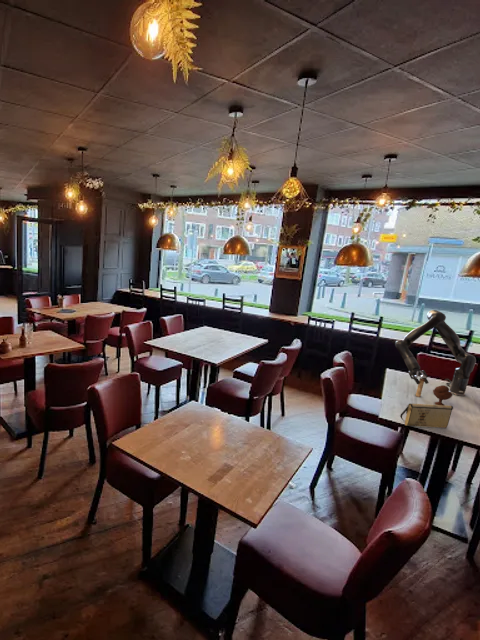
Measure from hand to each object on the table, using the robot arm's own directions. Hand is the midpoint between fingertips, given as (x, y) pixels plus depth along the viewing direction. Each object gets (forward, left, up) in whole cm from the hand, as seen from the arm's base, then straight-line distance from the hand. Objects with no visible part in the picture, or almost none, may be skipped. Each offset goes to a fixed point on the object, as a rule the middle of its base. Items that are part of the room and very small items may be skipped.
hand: (423, 383), depth 255 cm
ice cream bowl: (+2, +13, -11) cm, 17 cm away
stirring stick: (0, -1, -11) cm, 11 cm away
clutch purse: (+53, +18, -11) cm, 57 cm away
